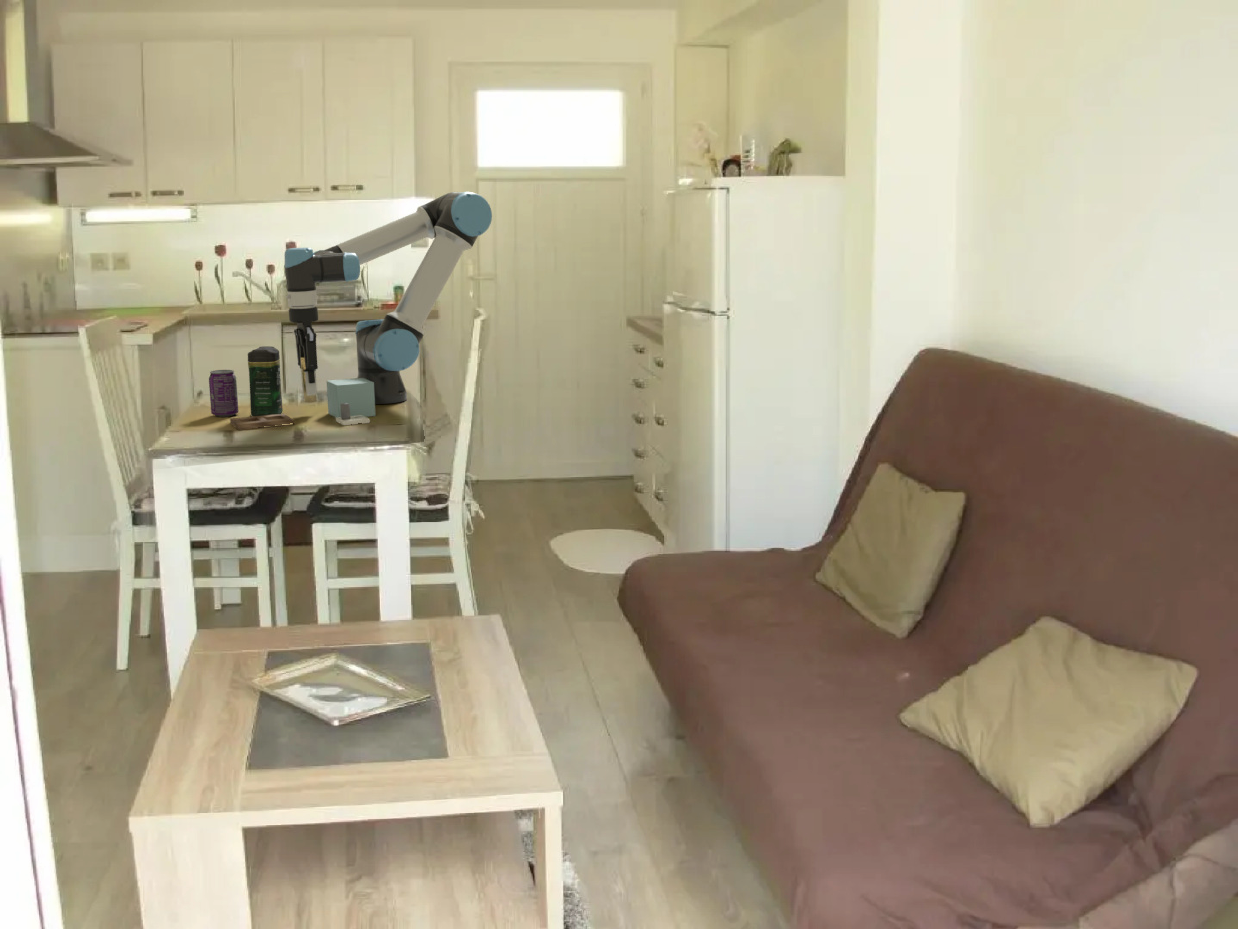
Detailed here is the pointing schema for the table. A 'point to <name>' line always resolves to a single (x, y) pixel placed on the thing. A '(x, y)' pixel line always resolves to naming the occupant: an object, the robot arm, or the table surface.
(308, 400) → the brass peg
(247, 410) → the table surface
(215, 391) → the beverage can
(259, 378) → the coffee jar
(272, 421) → the brown grid frame
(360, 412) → the block
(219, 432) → the table surface
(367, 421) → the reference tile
